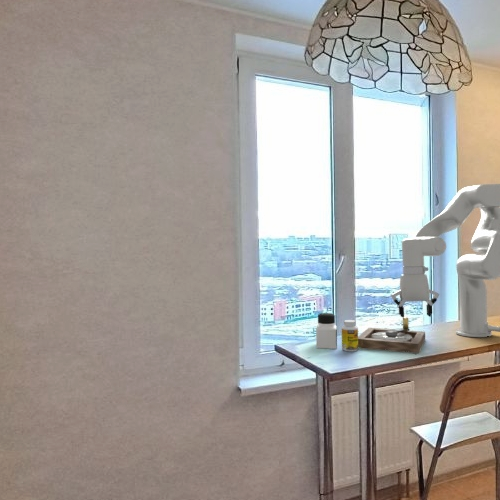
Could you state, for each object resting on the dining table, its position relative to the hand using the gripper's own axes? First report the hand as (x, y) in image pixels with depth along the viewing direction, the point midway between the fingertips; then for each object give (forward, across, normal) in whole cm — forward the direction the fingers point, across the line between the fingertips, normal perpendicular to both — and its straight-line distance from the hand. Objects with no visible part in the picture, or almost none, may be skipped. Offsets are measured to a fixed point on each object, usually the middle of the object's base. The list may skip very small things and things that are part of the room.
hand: (415, 316), depth 164 cm
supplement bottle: (+8, +26, +16) cm, 32 cm away
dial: (+7, +9, +5) cm, 13 cm away
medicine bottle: (+8, +34, +11) cm, 36 cm away
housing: (+9, +10, +6) cm, 15 cm away
